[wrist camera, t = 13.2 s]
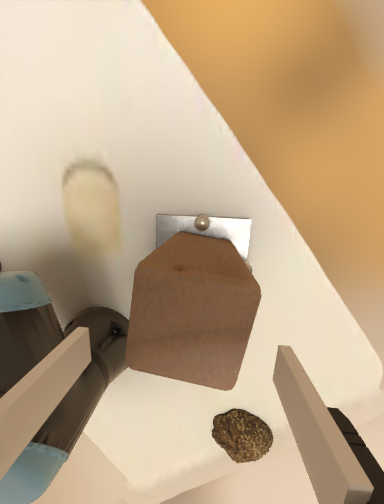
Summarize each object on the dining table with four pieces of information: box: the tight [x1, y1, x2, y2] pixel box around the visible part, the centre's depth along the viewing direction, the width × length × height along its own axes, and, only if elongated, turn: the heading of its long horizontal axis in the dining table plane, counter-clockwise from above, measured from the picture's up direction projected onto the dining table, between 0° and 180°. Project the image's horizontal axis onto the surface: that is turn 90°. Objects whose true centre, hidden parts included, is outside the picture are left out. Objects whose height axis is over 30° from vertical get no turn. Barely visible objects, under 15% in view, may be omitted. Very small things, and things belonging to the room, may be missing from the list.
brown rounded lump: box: [212, 409, 273, 463], centre depth 42 cm, size 13×12×5 cm
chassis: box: [156, 214, 252, 273], centre depth 34 cm, size 17×17×4 cm
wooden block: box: [125, 232, 261, 391], centre depth 25 cm, size 10×10×20 cm
